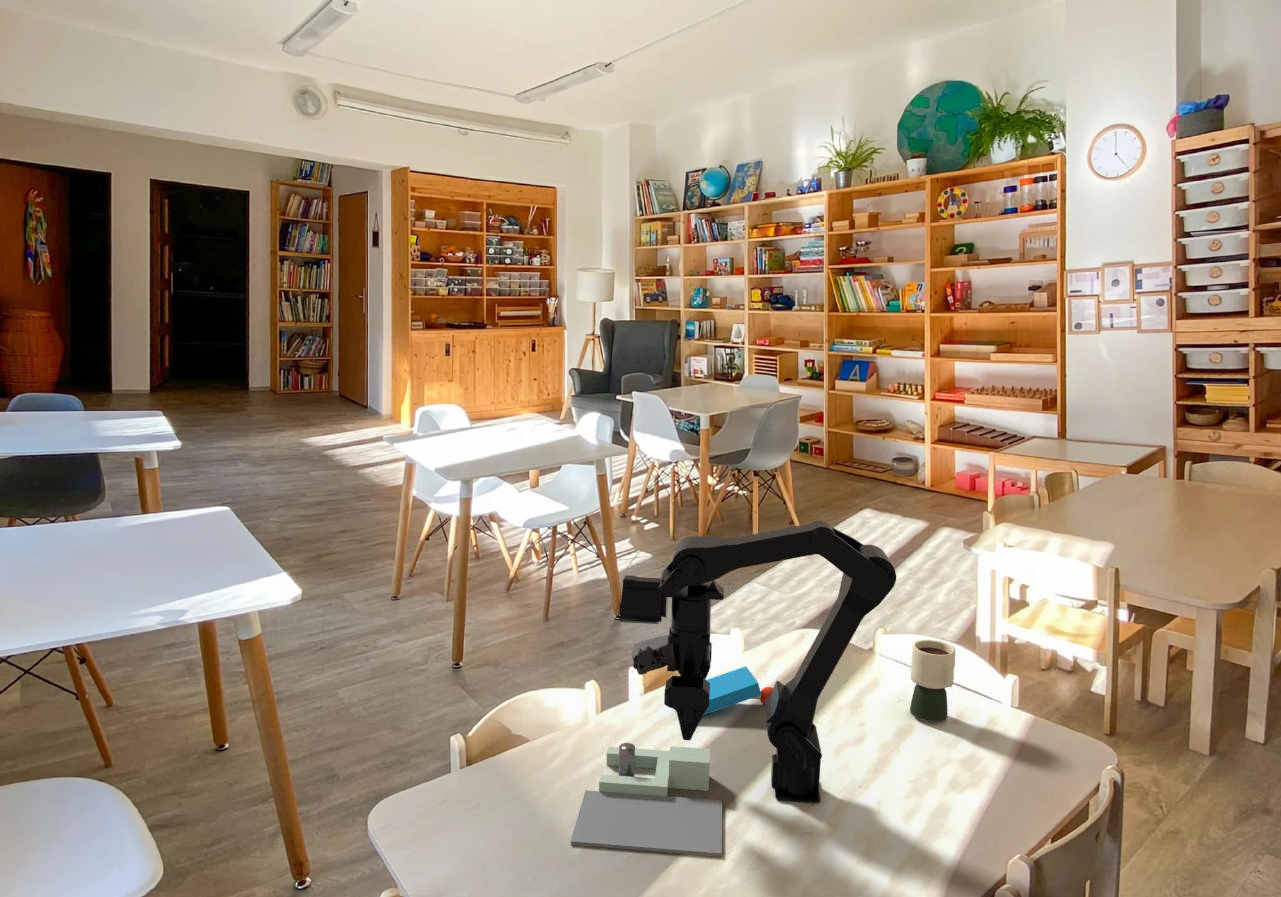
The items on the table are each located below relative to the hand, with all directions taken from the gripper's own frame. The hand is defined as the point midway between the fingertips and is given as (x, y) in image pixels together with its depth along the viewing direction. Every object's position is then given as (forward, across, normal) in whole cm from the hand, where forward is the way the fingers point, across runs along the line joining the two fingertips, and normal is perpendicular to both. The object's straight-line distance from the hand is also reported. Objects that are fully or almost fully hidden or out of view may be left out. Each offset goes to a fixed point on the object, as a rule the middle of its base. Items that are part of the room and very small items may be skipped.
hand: (688, 724), depth 128 cm
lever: (+10, -25, +6) cm, 28 cm away
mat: (+9, +11, -5) cm, 15 cm away
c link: (+9, 0, -5) cm, 11 cm away
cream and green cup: (+10, -26, +41) cm, 50 cm away
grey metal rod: (+9, 0, -9) cm, 13 cm away
